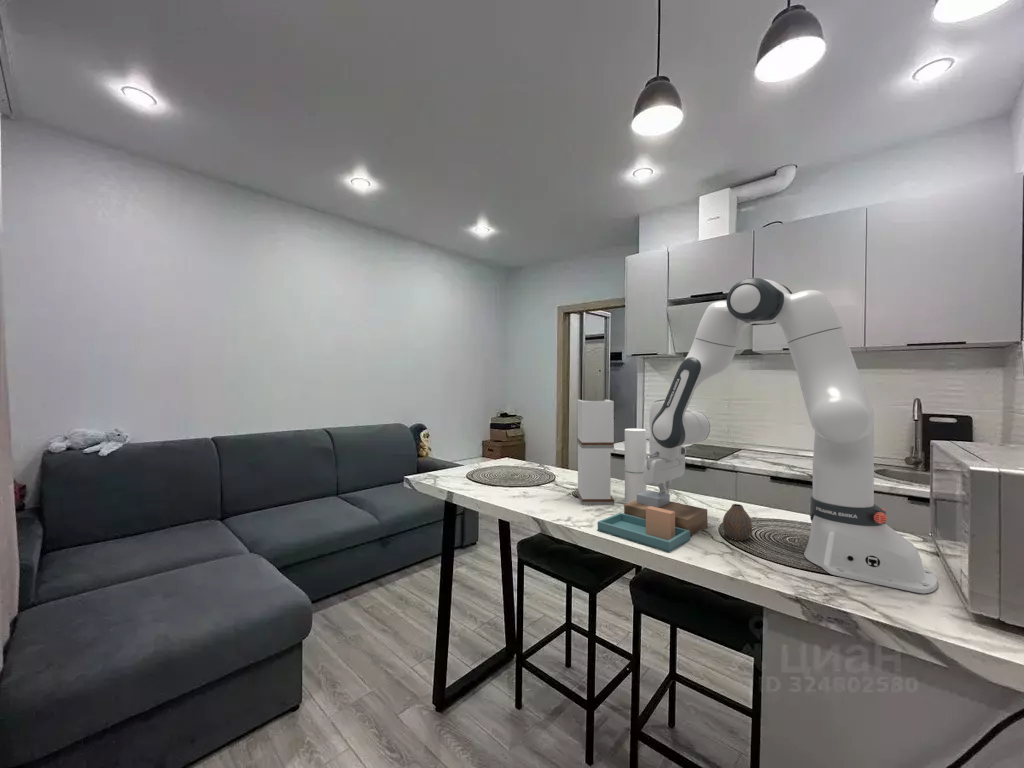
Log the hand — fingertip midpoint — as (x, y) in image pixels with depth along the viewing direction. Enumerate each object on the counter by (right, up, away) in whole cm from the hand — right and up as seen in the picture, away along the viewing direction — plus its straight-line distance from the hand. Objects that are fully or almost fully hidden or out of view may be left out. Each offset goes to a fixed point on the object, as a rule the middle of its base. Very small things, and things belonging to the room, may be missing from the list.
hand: (664, 494), depth 132 cm
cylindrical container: (-5, -6, +13) cm, 15 cm away
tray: (-12, -6, -18) cm, 23 cm away
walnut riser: (-3, -6, -9) cm, 11 cm away
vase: (+12, -6, -20) cm, 24 cm away
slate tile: (-5, -1, -5) cm, 7 cm away
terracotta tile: (-7, -2, -19) cm, 20 cm away
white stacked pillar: (-19, -6, +15) cm, 25 cm away
